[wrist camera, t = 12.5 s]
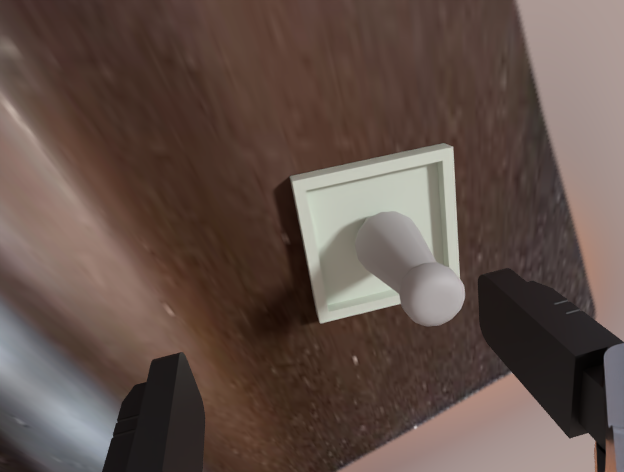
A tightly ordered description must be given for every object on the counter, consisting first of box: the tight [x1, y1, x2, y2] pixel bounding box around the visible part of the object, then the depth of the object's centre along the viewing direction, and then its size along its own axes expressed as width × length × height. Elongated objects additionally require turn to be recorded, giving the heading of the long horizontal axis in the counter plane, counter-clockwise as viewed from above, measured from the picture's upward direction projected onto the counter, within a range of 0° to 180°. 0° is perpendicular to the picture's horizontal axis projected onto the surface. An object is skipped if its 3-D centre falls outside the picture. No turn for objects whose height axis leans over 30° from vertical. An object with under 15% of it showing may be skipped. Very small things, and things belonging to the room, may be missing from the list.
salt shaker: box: [355, 211, 465, 326], centre depth 36 cm, size 6×6×13 cm
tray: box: [290, 143, 460, 323], centre depth 42 cm, size 14×14×2 cm
